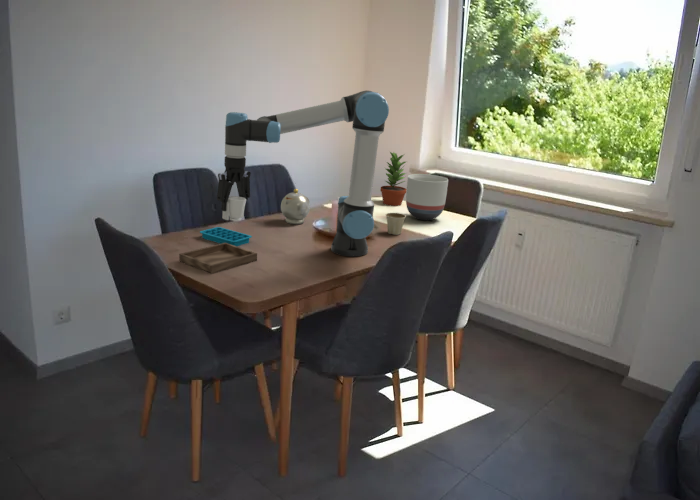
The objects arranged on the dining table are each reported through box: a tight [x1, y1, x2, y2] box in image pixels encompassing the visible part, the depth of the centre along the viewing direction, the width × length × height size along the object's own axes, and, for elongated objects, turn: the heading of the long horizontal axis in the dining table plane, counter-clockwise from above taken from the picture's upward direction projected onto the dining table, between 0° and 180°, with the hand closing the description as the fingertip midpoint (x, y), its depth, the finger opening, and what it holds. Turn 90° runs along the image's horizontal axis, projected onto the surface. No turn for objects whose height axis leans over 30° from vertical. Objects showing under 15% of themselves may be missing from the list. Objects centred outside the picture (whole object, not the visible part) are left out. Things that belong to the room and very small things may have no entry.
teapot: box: [280, 188, 311, 226], centre depth 283 cm, size 18×14×16 cm
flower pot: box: [385, 212, 407, 236], centre depth 276 cm, size 9×9×9 cm
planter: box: [405, 173, 449, 221], centre depth 304 cm, size 20×20×21 cm
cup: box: [228, 195, 247, 222], centre depth 222 cm, size 7×10×8 cm
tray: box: [178, 243, 258, 275], centre depth 223 cm, size 18×22×3 cm
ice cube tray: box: [199, 226, 253, 247], centre depth 250 cm, size 12×20×3 cm, turn 56°
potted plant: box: [380, 150, 407, 207], centre depth 332 cm, size 15×15×30 cm
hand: (233, 217), depth 222 cm, fingers closed on cup, 6 cm apart
